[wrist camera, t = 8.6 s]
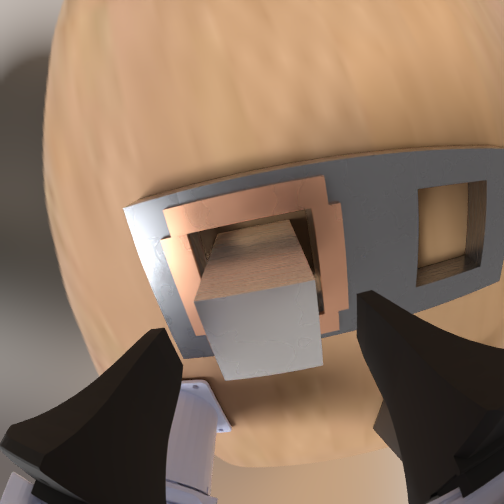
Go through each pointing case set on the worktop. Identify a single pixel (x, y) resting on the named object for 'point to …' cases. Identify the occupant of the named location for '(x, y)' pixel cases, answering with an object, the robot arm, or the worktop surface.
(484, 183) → the rail plate
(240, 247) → the block
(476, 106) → the worktop surface
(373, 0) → the worktop surface
